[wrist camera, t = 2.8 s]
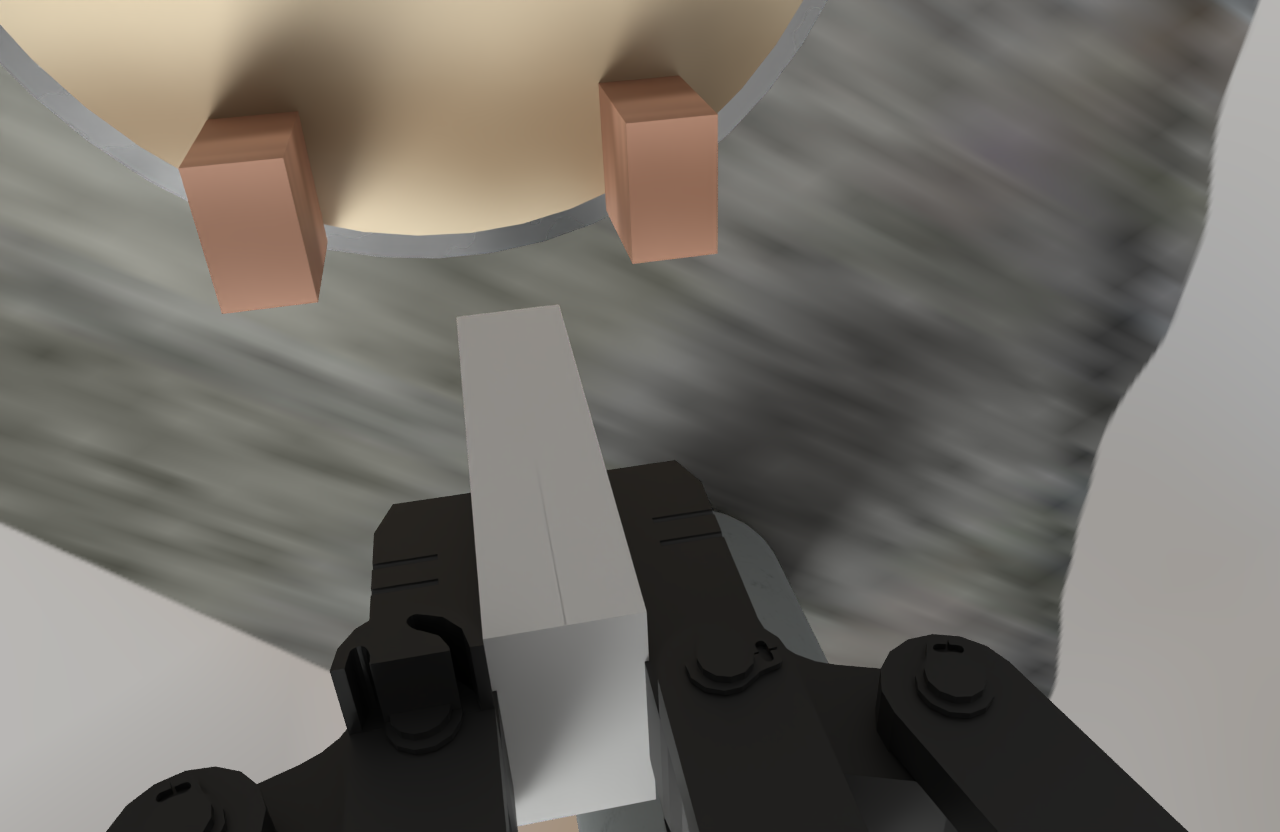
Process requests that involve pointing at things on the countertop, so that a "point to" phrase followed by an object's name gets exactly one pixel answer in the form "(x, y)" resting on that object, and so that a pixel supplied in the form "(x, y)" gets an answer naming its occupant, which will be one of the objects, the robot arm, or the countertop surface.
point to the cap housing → (381, 244)
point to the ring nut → (410, 115)
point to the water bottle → (779, 612)
